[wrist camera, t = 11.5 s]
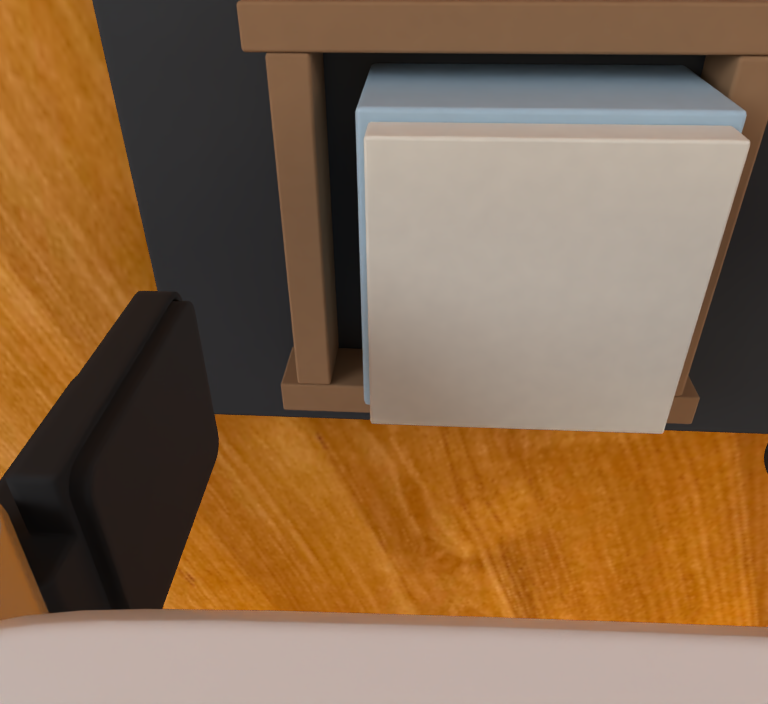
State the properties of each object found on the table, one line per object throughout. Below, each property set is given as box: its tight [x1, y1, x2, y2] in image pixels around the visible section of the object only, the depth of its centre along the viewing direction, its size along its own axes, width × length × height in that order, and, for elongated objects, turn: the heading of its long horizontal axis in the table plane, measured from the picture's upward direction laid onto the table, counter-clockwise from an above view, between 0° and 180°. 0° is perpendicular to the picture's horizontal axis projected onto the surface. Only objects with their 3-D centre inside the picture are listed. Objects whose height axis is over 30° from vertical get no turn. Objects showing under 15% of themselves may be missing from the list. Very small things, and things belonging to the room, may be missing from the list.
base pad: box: [92, 0, 768, 434], centre depth 15 cm, size 16×12×3 cm
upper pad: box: [355, 63, 750, 434], centre depth 13 cm, size 6×6×4 cm
